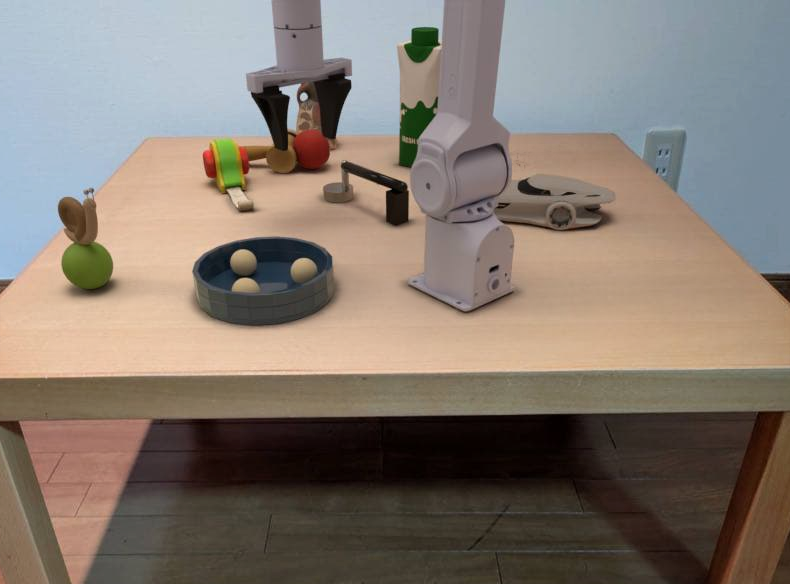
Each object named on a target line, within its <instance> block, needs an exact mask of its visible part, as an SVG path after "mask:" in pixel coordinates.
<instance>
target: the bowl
mask: <svg viewBox="0 0 790 584" xmlns="http://www.w3.org/2000/svg"><path fill="white" fill-rule="evenodd" d="M241 249H245V250H248V251H250V252H252V253H253V254H254V256H255V257H256V260H257V266H256V269H255V271H254V272H253V273H252V274H250V275H248V276H240V275H238V274H236V273H235V272H234V271H233V270H232V268H231V265H230V260H231V257H232V255H233V254H234V253H235V252H236V251H238V250H241ZM300 258H307V259H310V260H312V261H313V262H314V263H315V265H316V267H317V271H318V273H317V277H316V278H314V279H313V280H311V281H309V282H307V283H304V284H301V285H300V284H298V283H296V282H295V281H294V280H293V278H292V276H291V267H292V265H293V263H294V262H295V261H296V260H298V259H300ZM333 263H334V262H333V256H332V254H331V253H330V252H329V251H328V250H327V249H326V248H325V247H324V246H321V244H320V245H319V244H318V243H315V242H313V241H310V240H305V239H301V238H298V237H291V236H290V237H289V236H288V237H287V236H278V235H277V236H257V237H256V236H255V237H249V238H243V239H237V240H233V241H230V242H227V243H224V244H220V245H217V246H216V247H213V248H211V249H210V250H208V251H206V252H204V253H203V254H202V255H201V256H200V257H198V259H196V260H195V261H194V264H193V267H192V271H191V273H192V274H191V275H192V279H193V285H194V291H195V296H196V299H197V302H198V306H199V307H200V308H201V309H202V311H204V312H205V313H206V314H207V315H209V316H211V317H212V318H215V319H217V320H220V321H222V322H227V323H231V324H237V325H244V326H245V325H246V326H265V325H266V326H267V325H277V324H282V323H289V322H291V321H295V320H296V321H297V320H299V319H302V318H305V317H307V316H310V315H313V314H314V313H316V312H318V311H319V310H321V309H322V308H324V307H325V306H326V305H327V304H329V302H330V301H331V299H332V298H333V296H334V293H335V283H334V279H335V278H334V264H333ZM241 278H250V279H252V280H254V281H255V282H256V283H257V284H258V286H259V288H260V292H257V293H245V292H235V291H232V287H233V285H234V283H235V282H236V281H237V280H239V279H241Z"/></svg>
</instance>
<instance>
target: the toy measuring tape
mask: <svg viewBox="0 0 790 584" xmlns="http://www.w3.org/2000/svg"><path fill="white" fill-rule="evenodd" d="M238 146H239V145H238V142H237V140H235V139H232V138H231V137H229V138H228V137H227V138H217V139H213V141H211V142H210V143H209V149H206V150H204V151H203V152H202V162H203V163H202V164H203V168H204V172H205V175H206V177H207V178H208V179H214V181H215V183H216V185H217V187H218V189H219V191H220V192H221V193H222V194H226V193H228V195H229V196H230V199H231V202H232V204H233V205H234V206H235V208H236V209H238V211H239V212H242V211H249V210H250V211H251V210H253V209H254V207H255V204H254V200H253V199H248V197H247V196H246V195H245V194H244V192H243V191H246V190H247V185H246V180H245V175H248V174H249V171H250V161H248V156H247V152H246V150H245V149H244V148H243V147H238Z"/></svg>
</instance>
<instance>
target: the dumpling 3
mask: <svg viewBox="0 0 790 584" xmlns="http://www.w3.org/2000/svg"><path fill="white" fill-rule="evenodd" d="M317 273H318V271H317V267H316V265H315V263H314V262H313V261H312V260H310V259H307V258H300V259H298V260H296V261H295V262H294V263H293V265H292V267H291V276H292V278H293V280H294V281H295V282H296V283H298V284H300V285H301V284H304V283H307V282H309V281H311V280H313V279H314V278H316V277H317Z"/></svg>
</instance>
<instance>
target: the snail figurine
mask: <svg viewBox="0 0 790 584" xmlns="http://www.w3.org/2000/svg"><path fill="white" fill-rule="evenodd" d="M94 192H95V189H94V188H93V187H89V188H88V189H87V188H86V189H83V194H84V195H85V196H86V198H85V199H84V200H83V202H82V203H81V201H79V200H78V199H76V198H74V197H72V196H63V197H62V198H61V199H60V200H59V201H58V203H57V213H58V217H59V219H60V221H61V223H62V224H63V226H64V228H63V232H64V234H65V236H66V237H67V239H69V240H70V241H71V242H72V243H71V244H69V245H68V246H67V247H66V248H65V250H64V251H63V254H62V256H61V263H60V265H61V270H62V272H63V274H64V276H65V278H66V279H67V280H68V282H70V284H72V285H74V286H75V287H78V288H80V289H84V290H95V289H98V288H100V287H102V286H104V285H105V284H106V283H107V282H109V280H110V279H111V277H112V275H113V272H114V261H113V258H112V255H111V253H110V252H109V250H108V249H106V247H105V246H103V244H100V242H99V243H98V242H97V241H96V239H97V237H98V231H99V222H98V221H99V220H98V214H97V202H96V201H95V197H94ZM89 194H91V195H92V198H90V197H89V196H88V195H89Z"/></svg>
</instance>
